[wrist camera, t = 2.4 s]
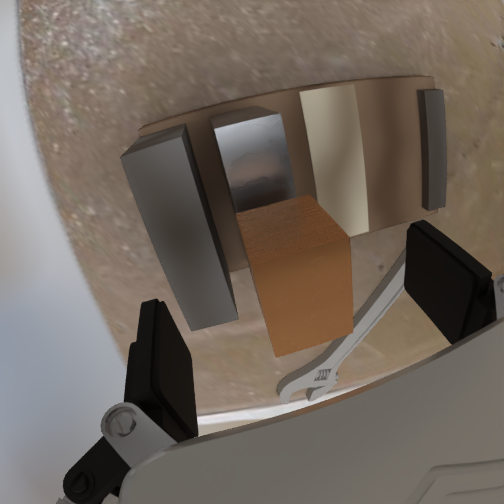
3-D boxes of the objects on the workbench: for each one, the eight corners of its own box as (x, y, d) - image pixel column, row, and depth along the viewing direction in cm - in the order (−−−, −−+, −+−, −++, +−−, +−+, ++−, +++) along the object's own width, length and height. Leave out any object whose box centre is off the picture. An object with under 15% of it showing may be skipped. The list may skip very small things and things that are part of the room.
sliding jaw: (258, 105, 18) (338, 133, 8) (288, 253, 24) (352, 379, 14) (207, 117, 18) (223, 159, 8) (247, 265, 24) (287, 400, 14)
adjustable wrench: (416, 225, 29) (426, 233, 27) (443, 253, 31) (453, 261, 30) (268, 389, 37) (271, 400, 35) (306, 398, 39) (310, 408, 38)
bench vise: (418, 75, 21) (488, 84, 14) (425, 203, 27) (481, 243, 20) (143, 126, 20) (116, 147, 13) (192, 268, 26) (194, 337, 19)
